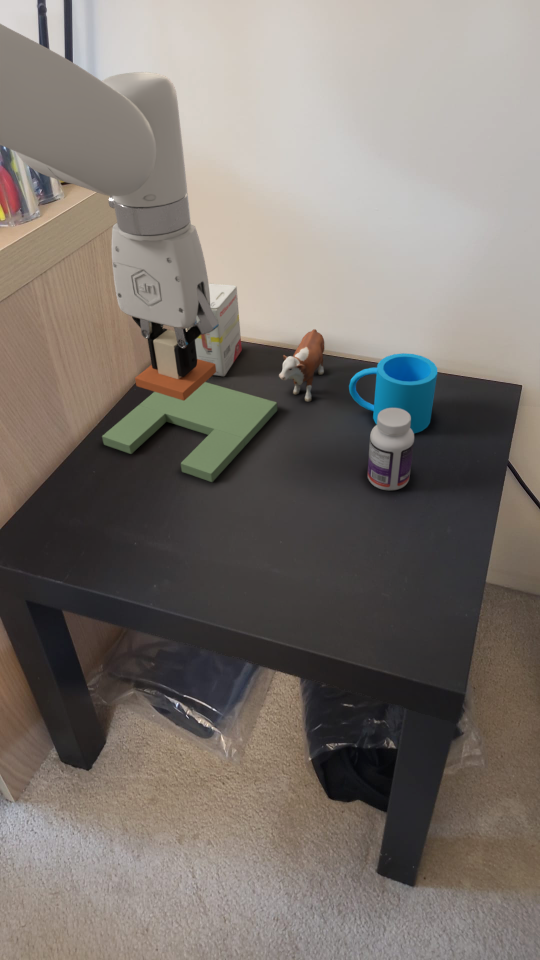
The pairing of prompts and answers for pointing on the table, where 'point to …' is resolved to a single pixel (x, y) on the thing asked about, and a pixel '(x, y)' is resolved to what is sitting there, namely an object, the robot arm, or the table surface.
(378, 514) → the table surface
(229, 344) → the ink box
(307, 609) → the table surface
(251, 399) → the green mat
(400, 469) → the pill bottle
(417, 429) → the mug
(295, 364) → the bull figurine
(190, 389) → the terracotta pad
